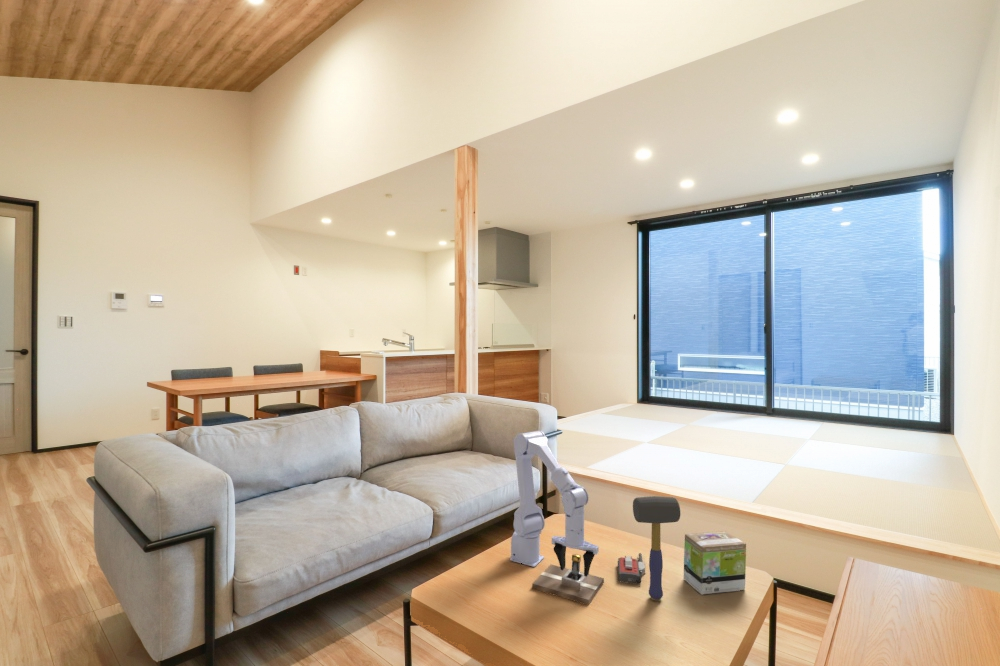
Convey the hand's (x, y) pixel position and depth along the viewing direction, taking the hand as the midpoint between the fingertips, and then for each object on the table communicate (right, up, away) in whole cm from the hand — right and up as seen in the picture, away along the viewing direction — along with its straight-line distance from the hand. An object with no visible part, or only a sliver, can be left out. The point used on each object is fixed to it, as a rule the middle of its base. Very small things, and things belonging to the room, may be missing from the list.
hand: (574, 571), depth 149 cm
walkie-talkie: (+21, -5, +11) cm, 24 cm away
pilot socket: (0, -3, 0) cm, 3 cm away
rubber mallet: (+23, -5, -6) cm, 24 cm away
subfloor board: (-2, -5, +1) cm, 5 cm away
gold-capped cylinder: (0, -3, 0) cm, 3 cm away
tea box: (+44, -5, +2) cm, 44 cm away
